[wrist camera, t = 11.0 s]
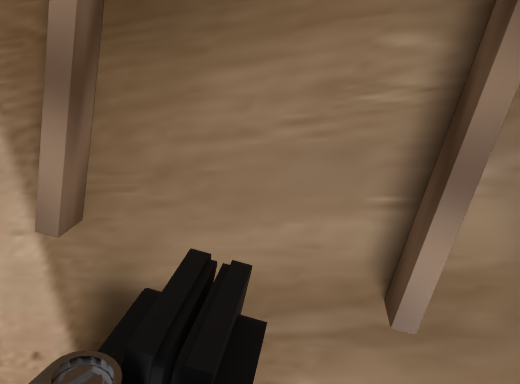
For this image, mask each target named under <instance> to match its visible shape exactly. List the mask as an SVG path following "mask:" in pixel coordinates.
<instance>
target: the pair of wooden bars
mask: <svg viewBox="0 0 520 384" xmlns="http://www.w3.org/2000/svg"><path fill="white" fill-rule="evenodd" d="M103 6H104V0H49V13H48V29H47V46H46V62H45V78H44V94H43V111H42V127H41V143H40V159H39V176H38V192H37V208H36V224H35V232H38V233H42V234H45V235H49V236H53V237H56V238H58V237H60V236H61V235H63V234H64V233H65V232H67V231H68V230H69V229H71V228H72V227H73V226H75V225H76V224H78V223H79V222H80V221H82V217H83V207H84V197H85V187H86V177H87V167H88V157H89V147H90V137H91V127H92V117H93V106H94V96H95V86H96V76H97V66H98V56H99V46H100V36H101V26H102V16H103ZM519 83H520V0H496V3H495V5H494V8H493V11H492V13H491V16H490V19H489V21H488V24H487V27H486V30H485V32H484V35H483V38H482V40H481V43H480V46H479V48H478V51H477V54H476V56H475V59H474V62H473V64H472V67H471V70H470V72H469V75H468V78H467V81H466V83H465V86H464V89H463V91H462V94H461V97H460V99H459V102H458V105H457V107H456V110H455V113H454V115H453V118H452V121H451V123H450V126H449V129H448V132H447V134H446V137H445V140H444V142H443V145H442V148H441V150H440V153H439V156H438V158H437V161H436V164H435V166H434V169H433V172H432V174H431V177H430V180H429V183H428V185H427V188H426V191H425V193H424V196H423V199H422V201H421V204H420V207H419V209H418V212H417V215H416V217H415V220H414V223H413V225H412V228H411V231H410V234H409V236H408V239H407V242H406V244H405V247H404V250H403V252H402V255H401V258H400V260H399V263H398V266H397V268H396V271H395V274H394V276H393V279H392V282H391V285H390V287H389V290H388V293H387V295H386V298H385V301H384V302H385V306H386V310H387V315H388V319H389V323H390V327H391V329H395V330H399V331H403V332H406V333H410V334H414V335H416V333H417V330H418V328H419V326H420V323H421V321H422V318H423V316H424V313H425V311H426V309H427V306H428V304H429V301H430V299H431V296H432V294H433V292H434V289H435V287H436V284H437V282H438V280H439V277H440V275H441V272H442V270H443V267H444V265H445V263H446V260H447V258H448V255H449V253H450V250H451V248H452V246H453V243H454V241H455V238H456V236H457V233H458V231H459V229H460V226H461V224H462V221H463V219H464V216H465V214H466V212H467V209H468V207H469V204H470V202H471V199H472V197H473V195H474V192H475V190H476V187H477V185H478V183H479V180H480V178H481V175H482V173H483V170H484V168H485V166H486V163H487V161H488V158H489V156H490V153H491V151H492V149H493V146H494V144H495V141H496V139H497V136H498V134H499V132H500V129H501V127H502V124H503V122H504V119H505V117H506V115H507V112H508V110H509V107H510V105H511V103H512V100H513V98H514V95H515V93H516V90H517V88H518V86H519Z"/></svg>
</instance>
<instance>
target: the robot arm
mask: <svg viewBox="0 0 520 384" xmlns="http://www.w3.org/2000/svg"><path fill="white" fill-rule="evenodd" d="M216 268H217V261H214V260H211V254H209V253H206V252H202V251H198V250H195V249H190V250H189V252H188V253H187V255H186V256H185V258H184V259H183V261H182V262H181V264H180V265H179V267H178V268H177V270H176V271H175V273H174V274H173V276H172V277H171V279H170V280H169V282H168V283H167V285H166V286H165V288H164V289H163V291H162V292H160V291H156V290H153V289H149V288H145V289H144V290H143V291H142V292H141V294H140V295H139V296H138V298H137V299H136V300H135V302H134V303H133V305H132V306H131V307H130V309H129V310H128V311H127V313H126V314H125V315H124V317H123V318H122V319H121V321H120V322H119V323H118V325H117V326H116V327H115V329H114V330H113V332H112V333H111V334H110V336H109V337H108V338H107V340H106V341H105V342H104V344H103V345H102V346H101V348H100V349H99V350H98V352H97V351H85V350H84V351H78V352H72V353H69V354H67V355H64V356H62V357H60V358H59V359H57V360H56V361H54V362H53V363H51V364H50V365H49V366H48V367H47V368H46V369H45V370H43V371H42V372H41V373H40V374H39V375H38V376H37V377H36V378H34V379H33V380H32V381H31V382H30V383H29V384H253V381H254V376H255V372H256V368H257V364H258V359H259V355H260V351H261V347H262V343H263V338H264V334H265V330H266V325H267V322H264V321H261V320H257V319H254V318H250V317H247V316H243V315H241V311H242V307H243V303H244V299H245V295H246V291H247V286H248V282H249V278H250V274H251V270H252V265H249V264H245V263H241V262H238V261H234V260H232V262H231V264H230V265H228V264H224V263H223V264H222V266H221V268H220V270H219V272H218V275H217V277H216V279H215V281H214V277H215V272H216ZM213 282H214V283H213Z"/></svg>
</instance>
